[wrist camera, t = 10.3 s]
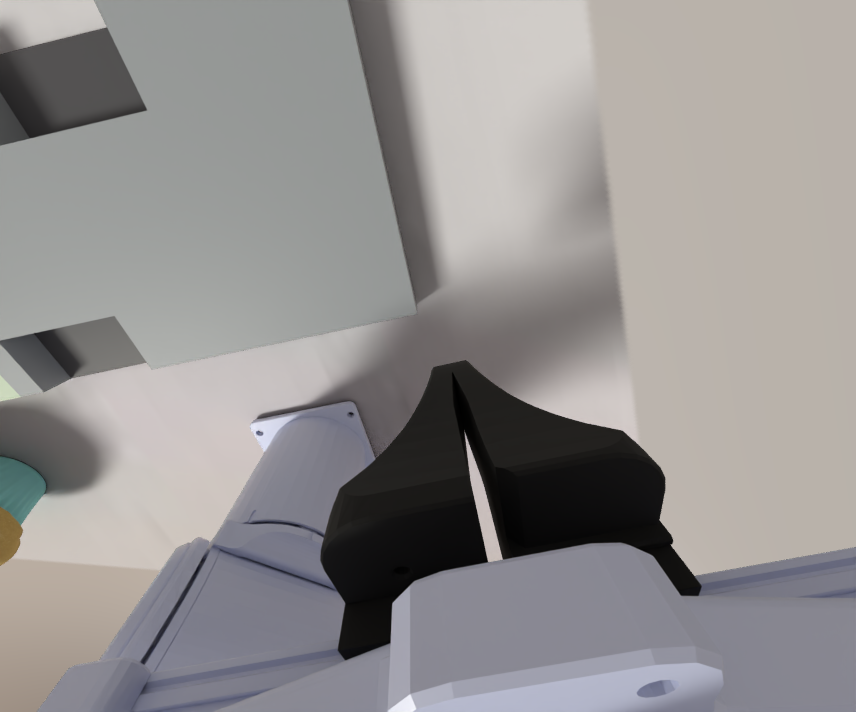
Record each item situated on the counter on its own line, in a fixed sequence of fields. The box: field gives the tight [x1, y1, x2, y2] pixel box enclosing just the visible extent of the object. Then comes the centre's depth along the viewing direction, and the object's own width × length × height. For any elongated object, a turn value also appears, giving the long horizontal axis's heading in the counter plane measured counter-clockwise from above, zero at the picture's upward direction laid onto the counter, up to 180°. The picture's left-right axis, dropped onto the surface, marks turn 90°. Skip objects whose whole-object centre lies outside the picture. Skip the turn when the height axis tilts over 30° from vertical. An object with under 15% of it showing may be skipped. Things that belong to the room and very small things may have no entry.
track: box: [0, 0, 417, 401], centre depth 16 cm, size 15×31×3 cm, turn 101°
